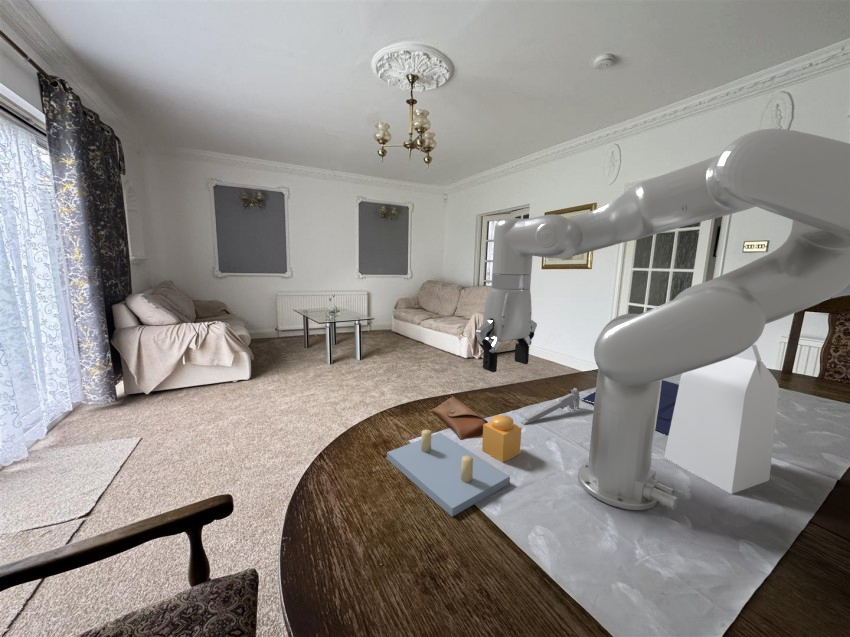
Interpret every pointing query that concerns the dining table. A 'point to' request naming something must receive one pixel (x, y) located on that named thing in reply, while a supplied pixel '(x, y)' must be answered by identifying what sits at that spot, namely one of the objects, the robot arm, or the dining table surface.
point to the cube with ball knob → (501, 438)
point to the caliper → (556, 406)
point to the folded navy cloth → (660, 405)
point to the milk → (726, 422)
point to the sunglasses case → (460, 418)
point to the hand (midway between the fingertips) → (505, 366)
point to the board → (447, 472)
